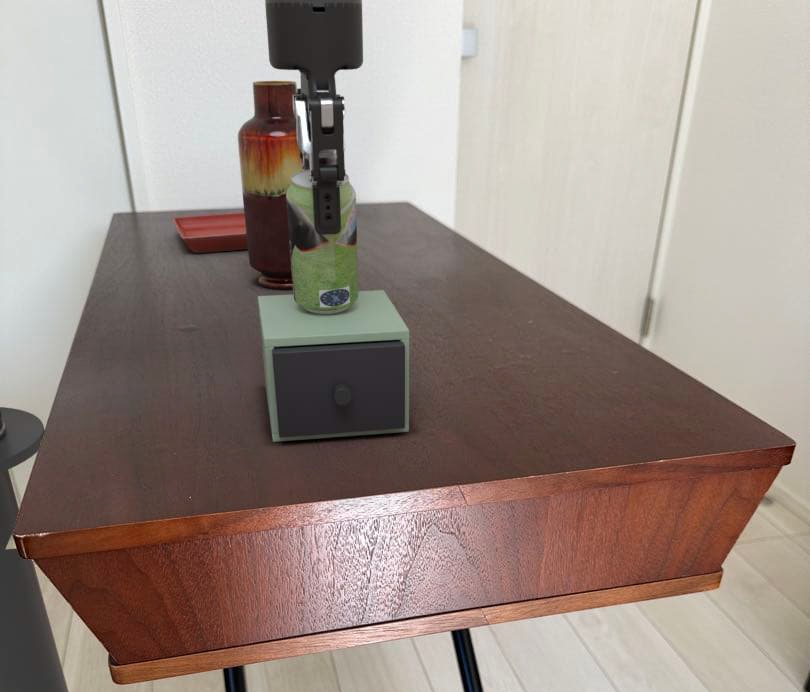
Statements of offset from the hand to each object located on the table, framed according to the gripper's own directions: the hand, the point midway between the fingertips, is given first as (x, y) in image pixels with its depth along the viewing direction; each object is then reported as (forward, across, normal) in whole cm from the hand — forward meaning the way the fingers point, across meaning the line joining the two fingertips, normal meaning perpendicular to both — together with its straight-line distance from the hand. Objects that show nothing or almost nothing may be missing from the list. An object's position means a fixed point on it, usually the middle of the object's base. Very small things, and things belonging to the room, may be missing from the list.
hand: (323, 225), depth 74 cm
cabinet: (+17, 0, 0) cm, 17 cm away
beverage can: (+8, -1, 0) cm, 8 cm away
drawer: (+16, +2, 0) cm, 17 cm away
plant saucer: (+17, -79, -9) cm, 81 cm away
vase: (+17, -50, -1) cm, 53 cm away
